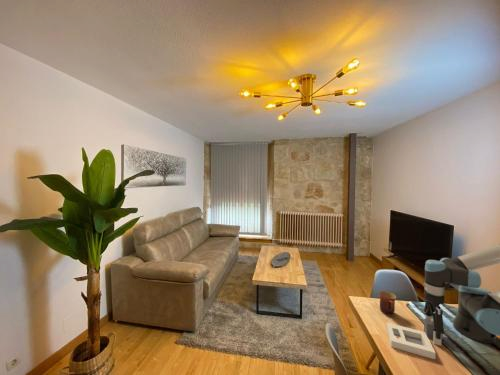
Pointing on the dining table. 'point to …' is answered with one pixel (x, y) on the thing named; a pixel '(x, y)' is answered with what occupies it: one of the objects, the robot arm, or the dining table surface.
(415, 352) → the socket plate
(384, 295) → the mug
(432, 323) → the plug
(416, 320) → the dining table surface
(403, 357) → the dining table surface
